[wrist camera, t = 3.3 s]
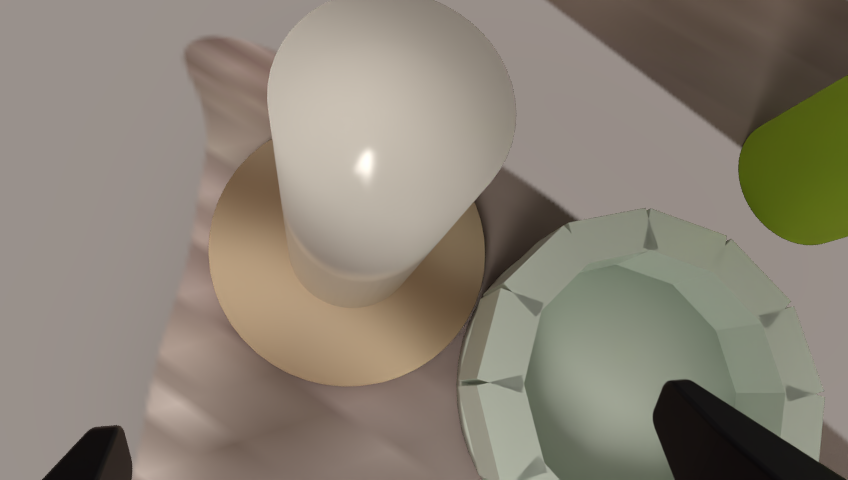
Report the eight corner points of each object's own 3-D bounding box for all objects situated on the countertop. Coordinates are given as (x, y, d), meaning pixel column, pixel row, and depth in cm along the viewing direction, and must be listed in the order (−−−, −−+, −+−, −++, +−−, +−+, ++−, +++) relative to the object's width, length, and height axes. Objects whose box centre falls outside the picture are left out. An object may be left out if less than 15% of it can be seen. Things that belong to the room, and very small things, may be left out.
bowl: (727, 600, 22) (801, 638, 19) (416, 509, 21) (436, 531, 18) (767, 290, 26) (836, 275, 22) (502, 197, 24) (533, 165, 21)
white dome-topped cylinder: (393, 324, 22) (481, 255, 11) (269, 284, 21) (227, 169, 10) (429, 208, 23) (540, 41, 12) (313, 168, 23) (318, -45, 12)
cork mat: (440, 421, 22) (443, 422, 21) (165, 336, 21) (161, 334, 20) (508, 174, 25) (512, 169, 24) (269, 89, 24) (268, 81, 23)
